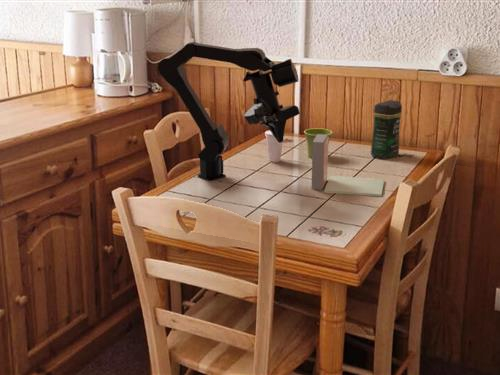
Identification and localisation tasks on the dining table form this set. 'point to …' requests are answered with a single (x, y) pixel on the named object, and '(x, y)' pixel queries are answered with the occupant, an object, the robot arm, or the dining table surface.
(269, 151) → the smoothie
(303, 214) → the dining table surface
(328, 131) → the plant pot
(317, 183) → the slate tile
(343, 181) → the pad
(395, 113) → the coffee jar
